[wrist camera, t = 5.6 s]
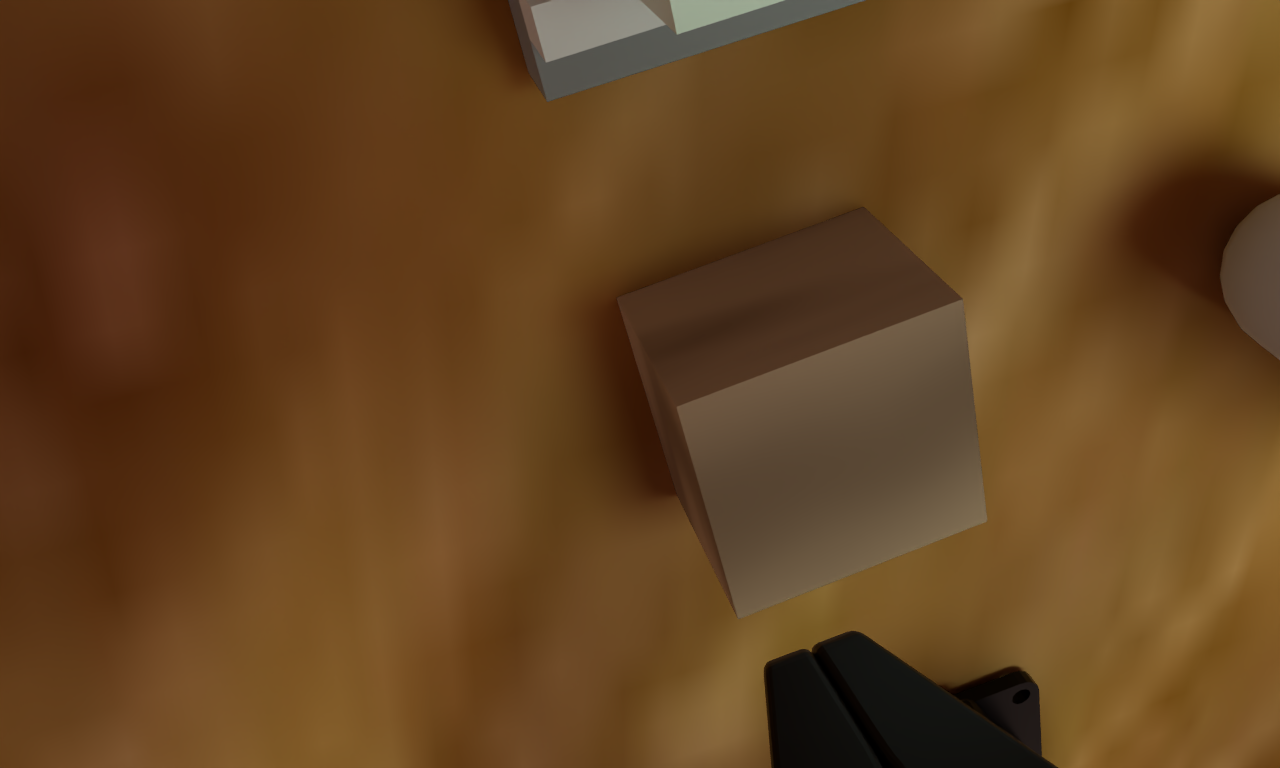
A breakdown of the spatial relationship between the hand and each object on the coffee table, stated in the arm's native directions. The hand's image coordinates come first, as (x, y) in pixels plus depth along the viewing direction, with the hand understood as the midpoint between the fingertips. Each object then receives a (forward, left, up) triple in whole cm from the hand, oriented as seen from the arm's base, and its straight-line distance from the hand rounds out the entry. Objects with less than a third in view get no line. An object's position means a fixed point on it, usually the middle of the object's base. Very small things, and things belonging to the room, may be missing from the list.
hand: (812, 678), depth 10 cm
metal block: (-6, -3, -13) cm, 14 cm away
